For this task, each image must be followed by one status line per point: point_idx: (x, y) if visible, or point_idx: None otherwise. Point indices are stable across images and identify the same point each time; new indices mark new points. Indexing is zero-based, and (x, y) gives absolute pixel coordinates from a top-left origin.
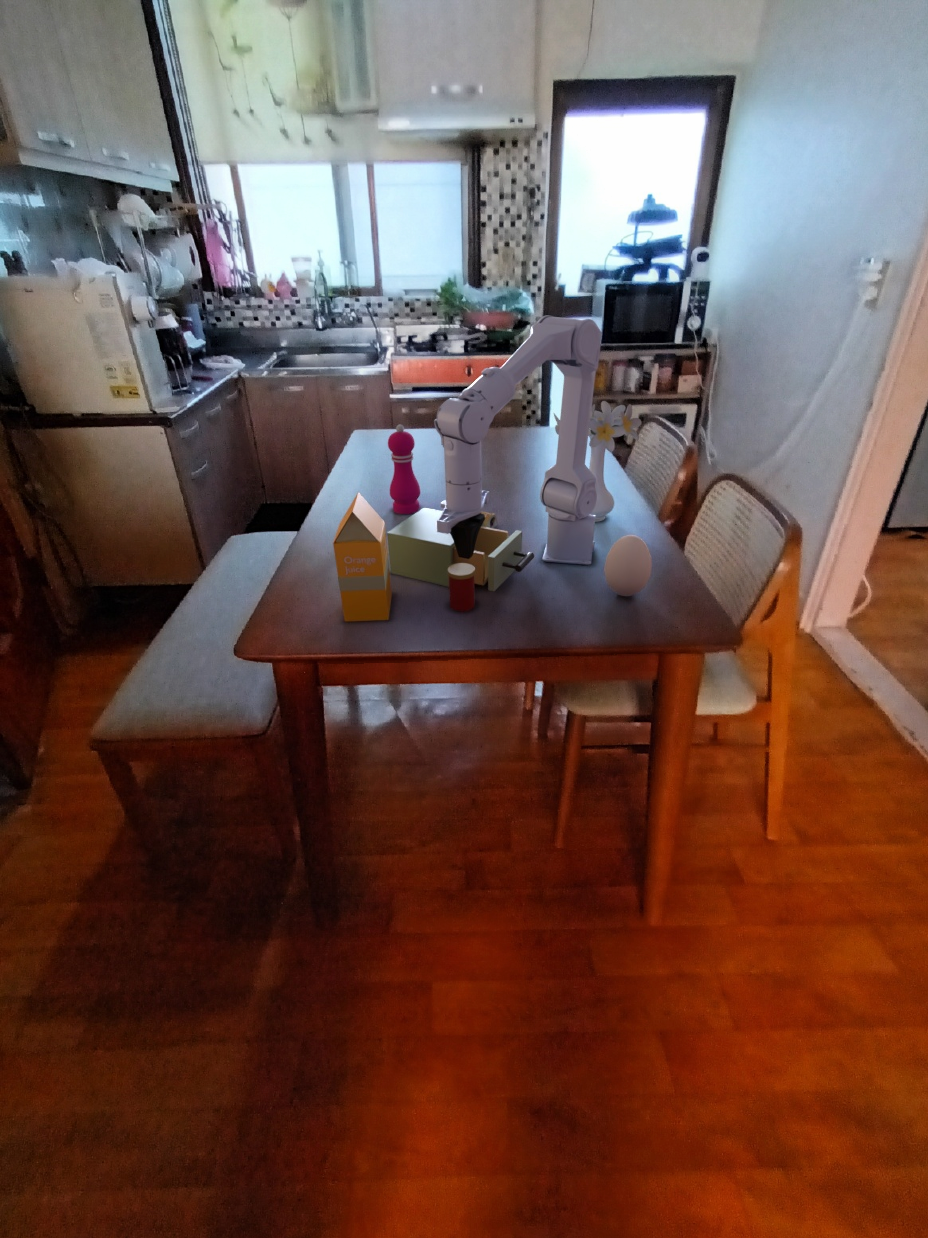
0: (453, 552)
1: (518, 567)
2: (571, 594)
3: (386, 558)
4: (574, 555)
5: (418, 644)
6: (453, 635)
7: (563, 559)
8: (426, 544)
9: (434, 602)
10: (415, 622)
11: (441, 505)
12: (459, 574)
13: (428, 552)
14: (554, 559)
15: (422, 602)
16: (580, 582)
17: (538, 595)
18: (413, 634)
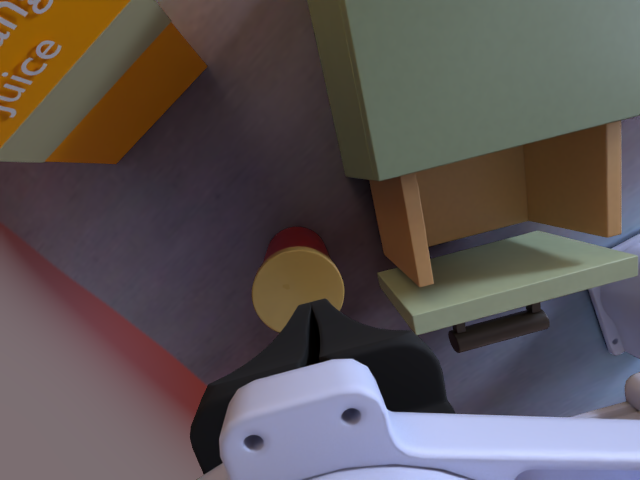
0: None
1: (455, 345)
2: (476, 392)
3: (92, 39)
4: (626, 328)
5: (107, 295)
6: (190, 325)
7: (604, 307)
8: (350, 62)
9: (261, 193)
10: (162, 225)
11: (222, 430)
12: (265, 316)
13: (346, 81)
14: (596, 288)
15: (240, 169)
16: (530, 377)
17: (435, 349)
18: (124, 259)
